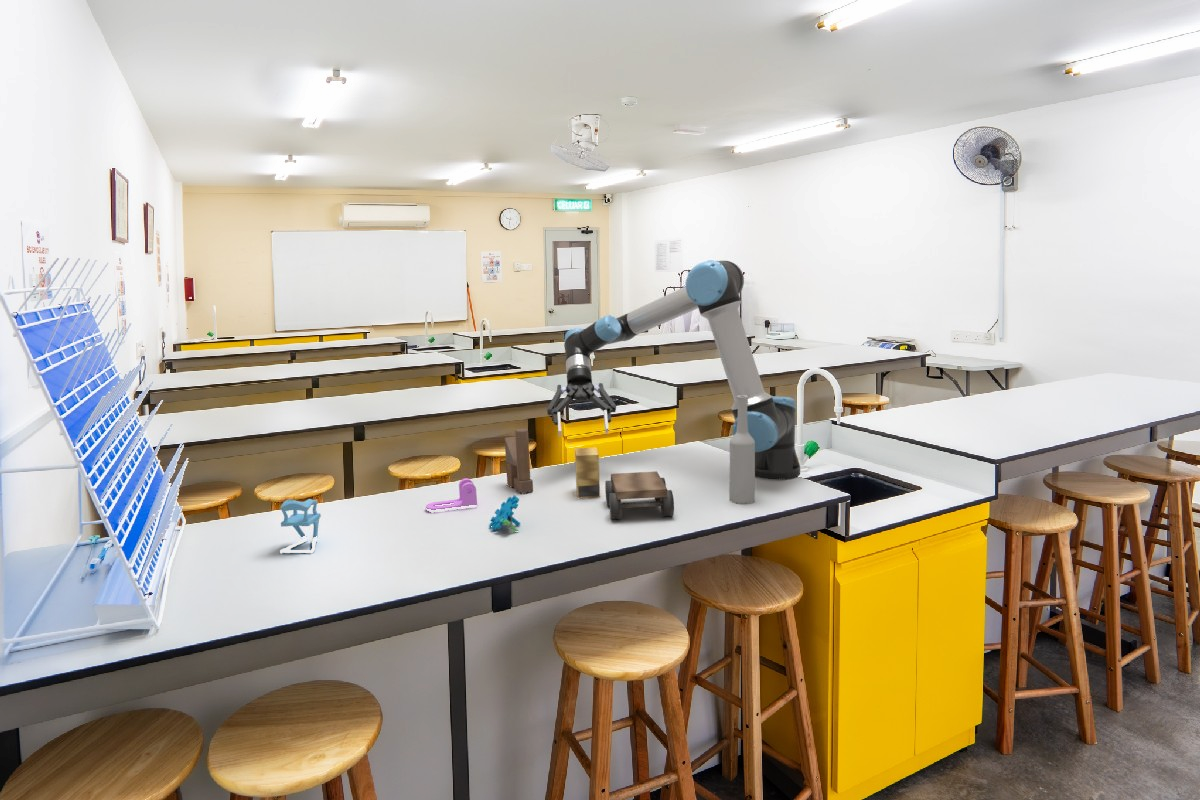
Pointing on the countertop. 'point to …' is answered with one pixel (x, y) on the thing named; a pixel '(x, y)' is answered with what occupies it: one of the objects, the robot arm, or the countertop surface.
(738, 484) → the bottle
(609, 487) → the trolley
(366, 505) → the countertop surface
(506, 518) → the gear
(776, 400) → the robot arm
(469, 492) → the bracket
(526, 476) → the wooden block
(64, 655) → the countertop surface
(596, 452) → the block
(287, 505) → the chair
